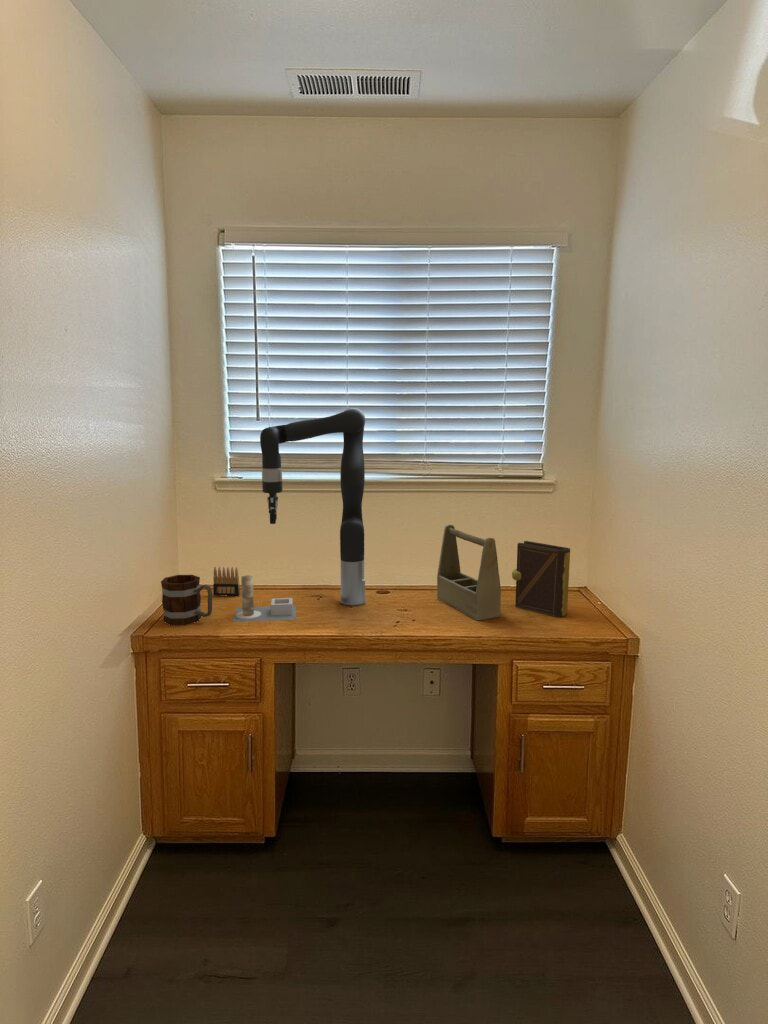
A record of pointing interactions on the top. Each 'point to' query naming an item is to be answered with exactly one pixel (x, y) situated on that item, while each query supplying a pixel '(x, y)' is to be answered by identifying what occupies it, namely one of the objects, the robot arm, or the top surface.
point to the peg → (247, 595)
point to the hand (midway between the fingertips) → (273, 521)
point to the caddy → (469, 578)
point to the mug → (183, 599)
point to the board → (270, 611)
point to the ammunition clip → (226, 582)
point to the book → (542, 578)
